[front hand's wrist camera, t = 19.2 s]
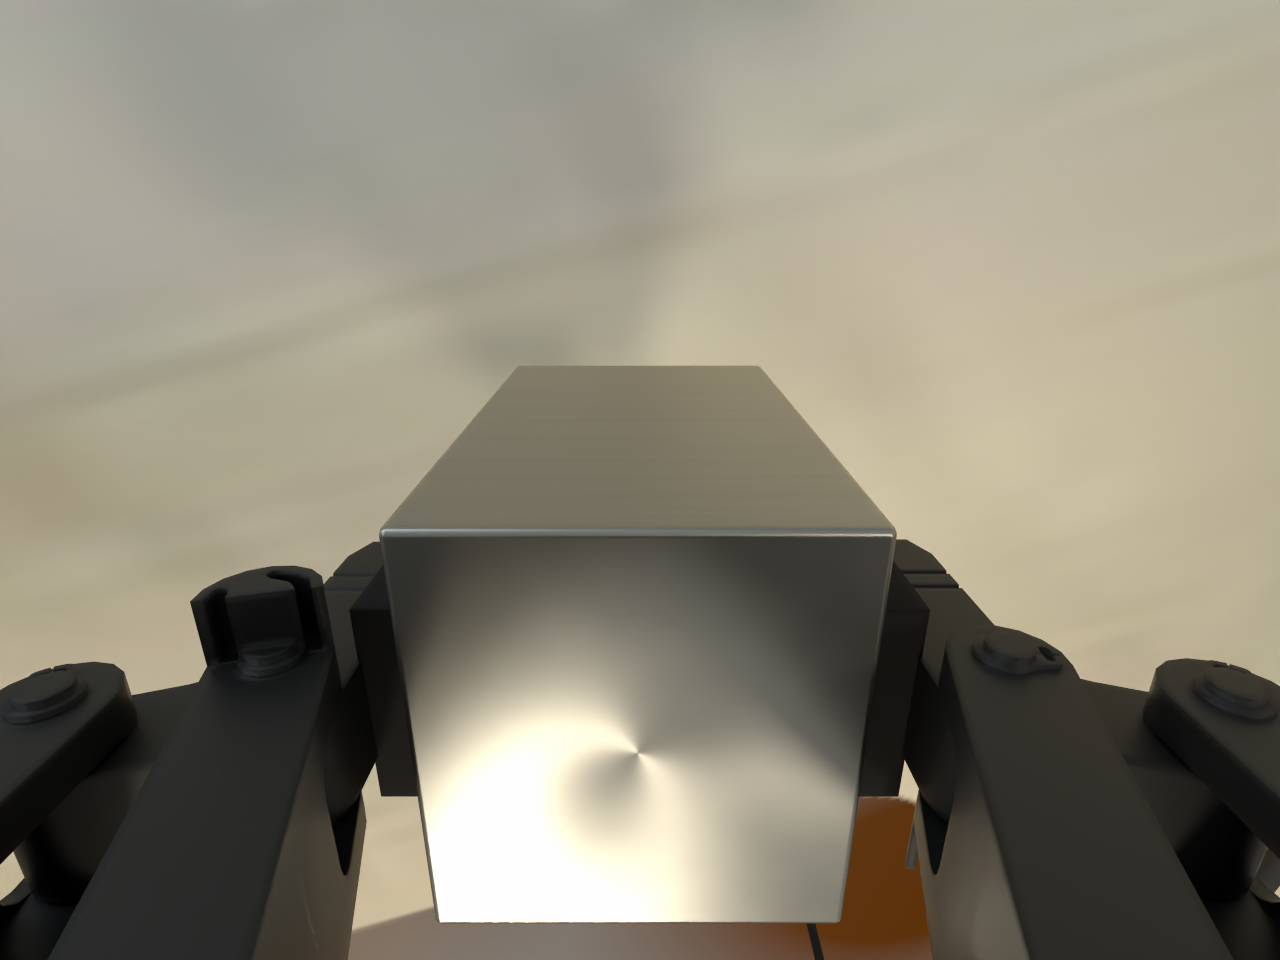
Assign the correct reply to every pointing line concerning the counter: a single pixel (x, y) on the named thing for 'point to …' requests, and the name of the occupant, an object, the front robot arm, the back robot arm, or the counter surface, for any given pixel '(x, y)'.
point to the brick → (638, 651)
